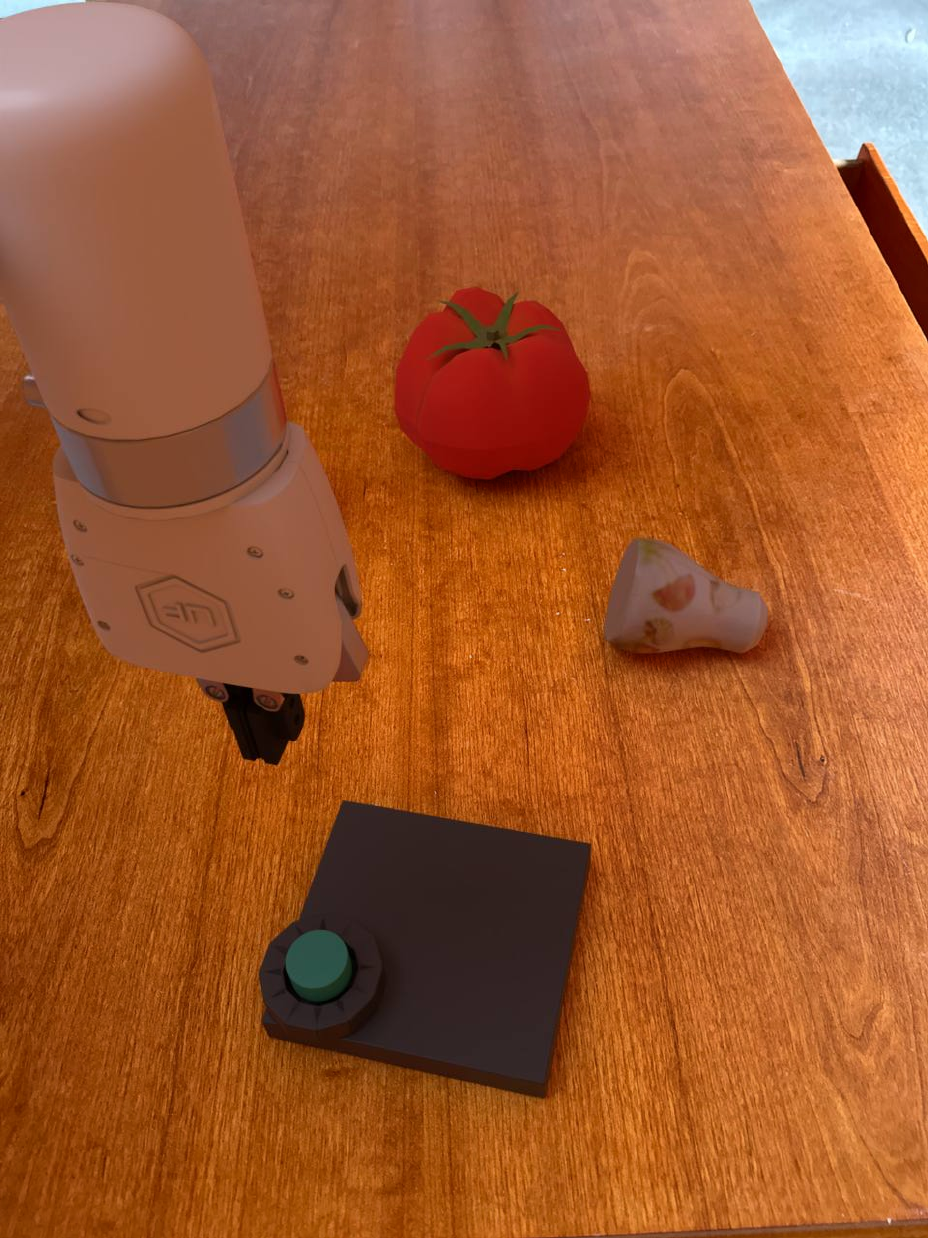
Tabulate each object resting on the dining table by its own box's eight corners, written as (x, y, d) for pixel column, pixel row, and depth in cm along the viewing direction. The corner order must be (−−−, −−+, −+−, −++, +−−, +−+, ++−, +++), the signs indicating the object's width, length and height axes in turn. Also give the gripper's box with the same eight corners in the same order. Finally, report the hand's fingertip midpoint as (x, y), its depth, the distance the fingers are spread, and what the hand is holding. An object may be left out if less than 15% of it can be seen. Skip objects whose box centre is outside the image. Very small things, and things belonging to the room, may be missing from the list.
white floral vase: (777, 687, 70) (712, 608, 63) (634, 697, 75) (560, 625, 68) (787, 582, 73) (726, 496, 66) (649, 599, 79) (580, 521, 72)
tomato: (609, 488, 83) (615, 350, 74) (416, 523, 81) (399, 388, 73) (562, 382, 92) (562, 249, 83) (387, 413, 90) (369, 280, 82)
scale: (256, 1044, 56) (241, 1014, 54) (339, 816, 65) (330, 781, 63) (543, 1109, 53) (542, 1081, 51) (590, 861, 62) (592, 826, 60)
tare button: (282, 995, 55) (276, 981, 54) (302, 938, 57) (297, 924, 56) (341, 1008, 54) (336, 994, 53) (360, 950, 56) (355, 935, 55)
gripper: (-79, 458, 38) (89, 774, 52) (342, 518, 35) (403, 839, 48) (35, 331, 43) (161, 651, 56) (414, 373, 39) (451, 702, 53)
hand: (273, 737), depth 52 cm, fingers closed
